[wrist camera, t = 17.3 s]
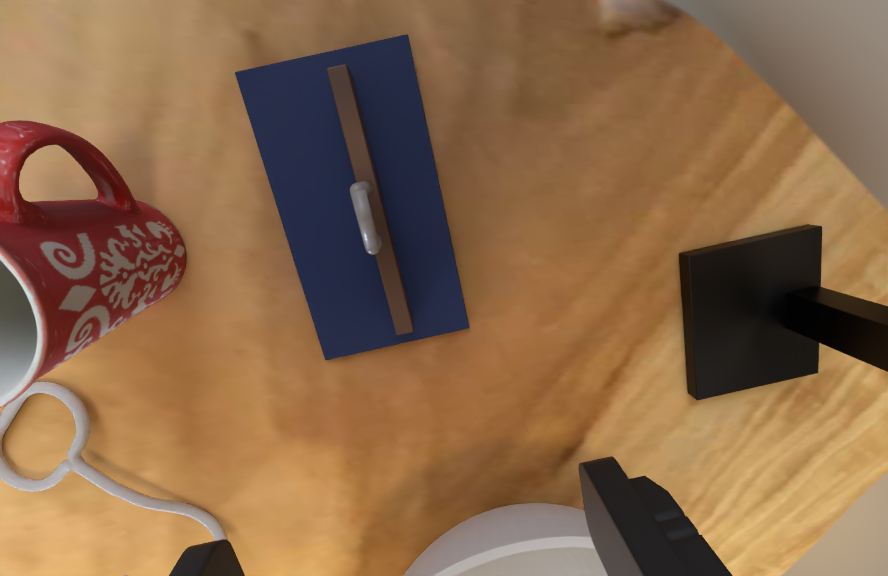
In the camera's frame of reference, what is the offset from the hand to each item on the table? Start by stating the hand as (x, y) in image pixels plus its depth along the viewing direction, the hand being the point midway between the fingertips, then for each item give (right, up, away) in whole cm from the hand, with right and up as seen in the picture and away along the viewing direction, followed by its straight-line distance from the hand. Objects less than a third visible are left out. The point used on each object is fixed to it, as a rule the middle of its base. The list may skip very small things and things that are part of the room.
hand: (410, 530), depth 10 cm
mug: (-20, +9, +20) cm, 30 cm away
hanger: (-4, +11, +20) cm, 23 cm away
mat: (-5, +11, +20) cm, 24 cm away
